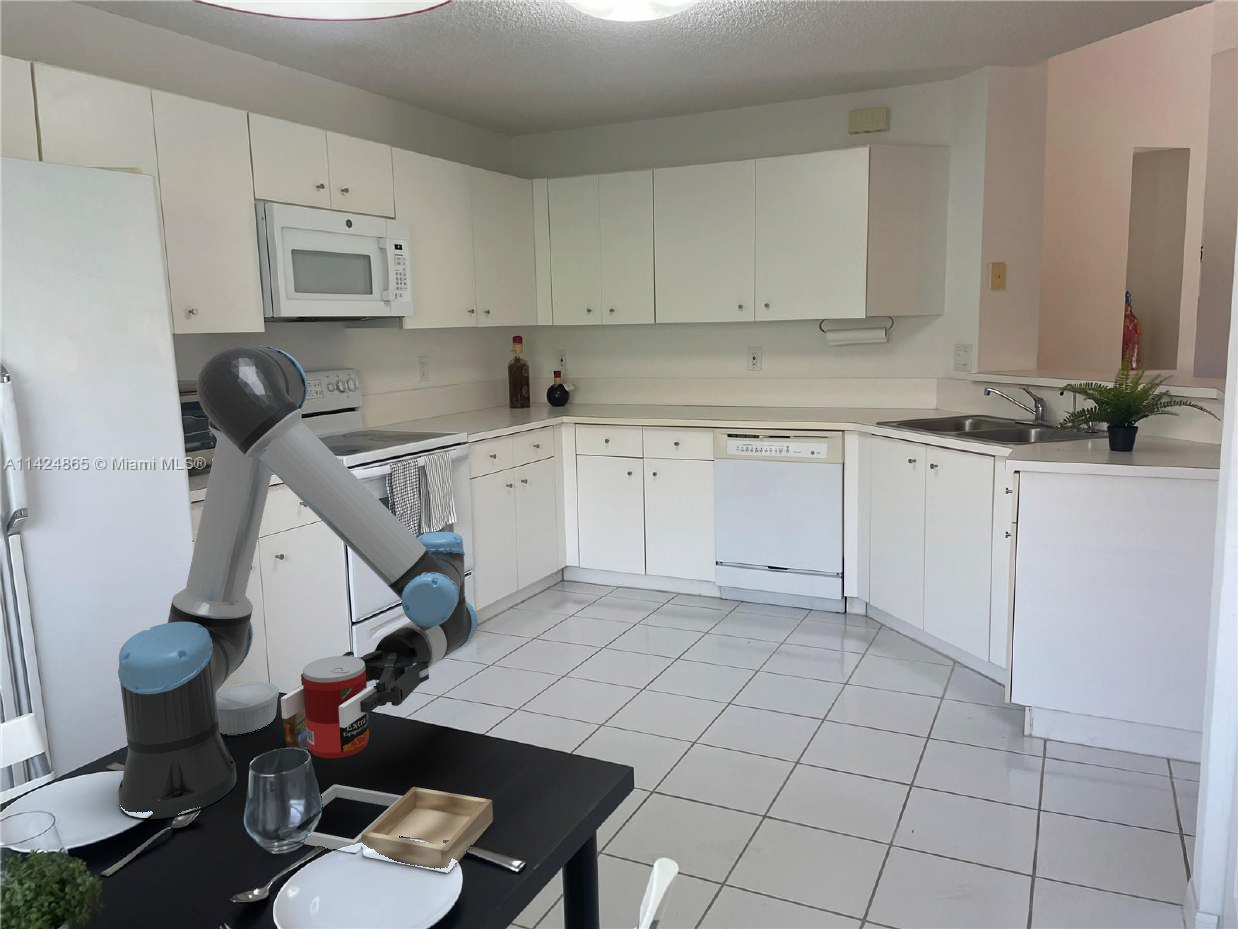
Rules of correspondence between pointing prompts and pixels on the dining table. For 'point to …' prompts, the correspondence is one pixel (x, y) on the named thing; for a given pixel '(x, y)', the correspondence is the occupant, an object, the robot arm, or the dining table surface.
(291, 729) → the tin
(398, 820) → the tray
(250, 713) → the ramekin
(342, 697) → the canned food
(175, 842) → the dining table surface
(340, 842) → the grey plastic frame
